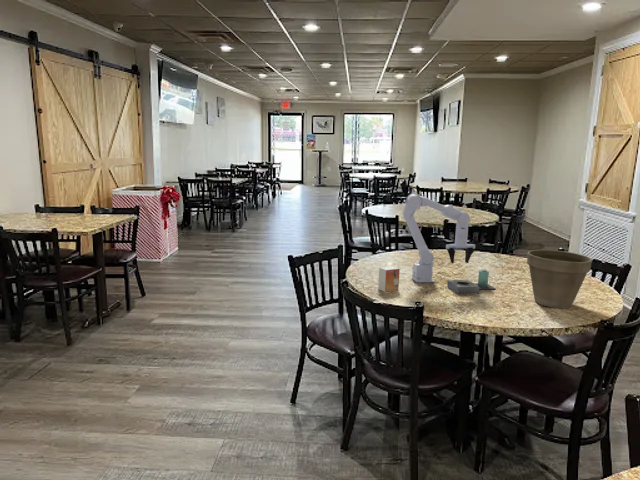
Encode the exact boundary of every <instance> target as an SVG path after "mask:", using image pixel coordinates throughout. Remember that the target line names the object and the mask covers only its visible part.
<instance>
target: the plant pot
mask: <svg viewBox="0 0 640 480" xmlns="http://www.w3.org/2000/svg"><path fill="white" fill-rule="evenodd" d="M526 253H527V256H526V264H527V265H528V266H529V273H530V281H531V286H532V287H531V288H532V293H533V294H532V295H533V299H534V301H535V303H537V304H539V305H542V306H543V307H544V306H545V307H548V308H553V309H568V308H571V307H572V305H573V304H574V302H575V299H576V297H577V296H578V293H579V291H580V289H581V287H582V284H583V283H584V280H585V278H586V276H587V275H588V274H587V273H589V272H590V271H591V268H592V263H593V259H592V258H591V257H589V256H586V255H583V254H580V253H576V252H575V253H574V252H570V251H564V250H563V251H562V250H554V249H533V250H532V249H531V250H529V251H528V252H526Z"/></svg>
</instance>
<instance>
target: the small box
mask: <svg viewBox="0 0 640 480" xmlns="http://www.w3.org/2000/svg"><path fill="white" fill-rule="evenodd" d="M400 270H401V269H400V268H399V267H395V266H393V265H392V266H384V267H379V268H378V285H377V288H378V290H380V291H382V292H384V293H386V292H395V291H399V284H400Z"/></svg>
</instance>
